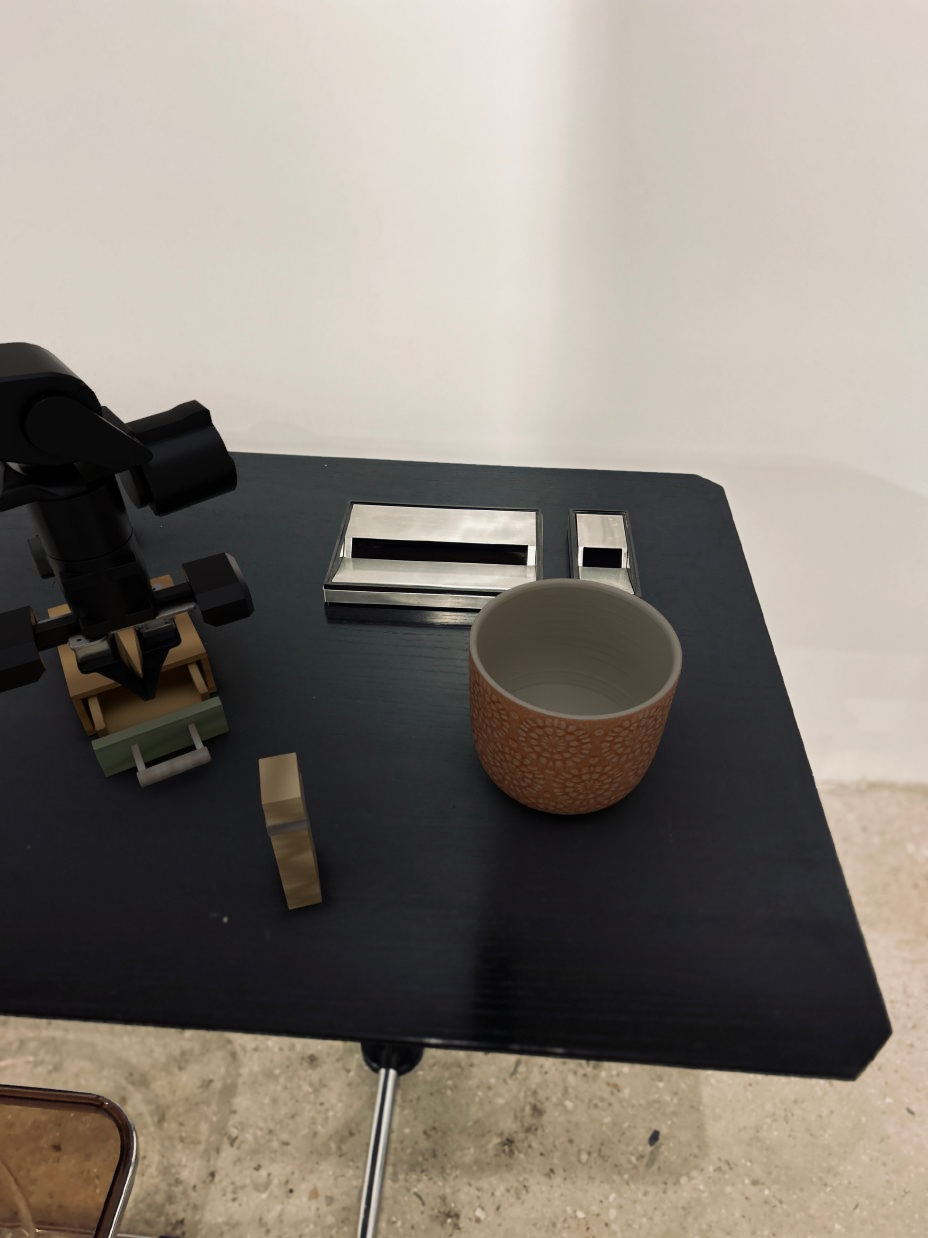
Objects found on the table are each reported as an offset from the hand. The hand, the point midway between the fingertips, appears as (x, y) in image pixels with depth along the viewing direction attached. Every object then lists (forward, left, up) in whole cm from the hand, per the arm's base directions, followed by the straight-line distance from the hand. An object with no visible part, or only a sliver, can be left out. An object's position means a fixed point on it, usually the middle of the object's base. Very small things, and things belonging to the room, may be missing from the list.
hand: (148, 696), depth 63 cm
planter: (+31, -15, -11) cm, 36 cm away
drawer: (0, +7, -10) cm, 12 cm away
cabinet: (0, +17, -11) cm, 20 cm away
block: (+6, -15, -11) cm, 20 cm away
